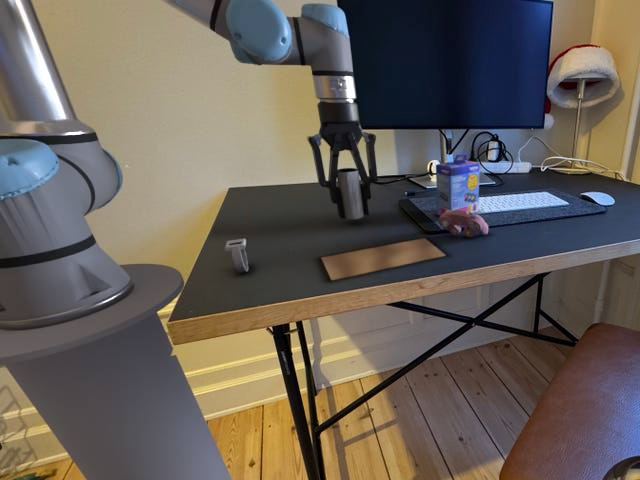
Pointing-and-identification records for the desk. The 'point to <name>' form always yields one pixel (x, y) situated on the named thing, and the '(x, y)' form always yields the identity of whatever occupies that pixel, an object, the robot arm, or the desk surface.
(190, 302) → the desk surface
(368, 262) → the cork mat
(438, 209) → the ink cartridge box
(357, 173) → the planter
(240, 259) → the wristwatch
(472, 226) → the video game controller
